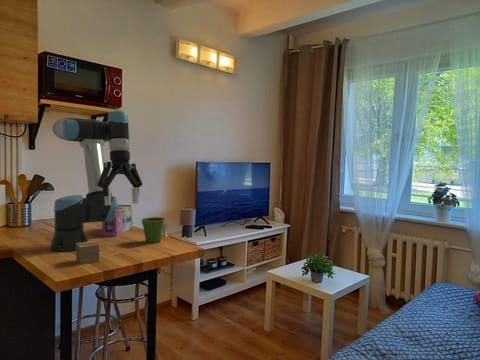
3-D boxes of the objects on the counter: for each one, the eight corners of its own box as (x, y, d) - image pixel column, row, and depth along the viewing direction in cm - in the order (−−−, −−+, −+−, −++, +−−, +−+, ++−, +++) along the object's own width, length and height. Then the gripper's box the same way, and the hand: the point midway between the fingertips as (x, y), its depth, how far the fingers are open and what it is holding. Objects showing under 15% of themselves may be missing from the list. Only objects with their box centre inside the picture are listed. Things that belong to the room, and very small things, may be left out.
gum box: (115, 237, 180) (115, 211, 179) (100, 236, 180) (100, 210, 179) (132, 227, 203) (131, 204, 203) (118, 227, 204) (118, 204, 203)
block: (76, 260, 139) (76, 243, 139) (94, 257, 143) (94, 240, 143) (80, 264, 133) (79, 246, 133) (99, 261, 138) (98, 244, 137)
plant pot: (159, 237, 180) (159, 216, 179) (169, 242, 170) (169, 219, 169) (137, 240, 172) (137, 218, 172) (146, 245, 163) (146, 222, 162)
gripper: (99, 146, 125) (102, 205, 124) (149, 152, 146) (152, 202, 145) (85, 149, 128) (88, 206, 127) (136, 154, 150) (139, 203, 149)
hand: (122, 204), depth 136 cm, fingers open, 13 cm apart
